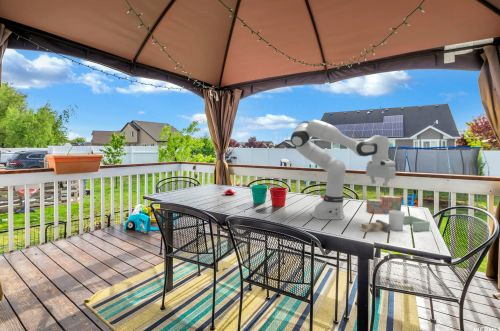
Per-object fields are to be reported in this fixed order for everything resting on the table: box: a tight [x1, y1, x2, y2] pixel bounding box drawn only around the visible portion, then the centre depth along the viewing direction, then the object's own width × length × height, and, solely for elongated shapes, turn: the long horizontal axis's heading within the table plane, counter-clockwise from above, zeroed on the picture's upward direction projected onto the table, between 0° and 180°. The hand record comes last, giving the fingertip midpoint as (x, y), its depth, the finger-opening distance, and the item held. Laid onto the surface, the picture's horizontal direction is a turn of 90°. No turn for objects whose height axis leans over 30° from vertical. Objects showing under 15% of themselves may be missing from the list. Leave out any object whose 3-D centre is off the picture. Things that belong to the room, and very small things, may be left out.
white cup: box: [388, 210, 406, 231], centre depth 143 cm, size 8×8×10 cm
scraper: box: [360, 219, 391, 234], centre depth 140 cm, size 14×9×4 cm, turn 102°
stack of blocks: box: [365, 195, 402, 215], centre depth 176 cm, size 21×6×12 cm, turn 83°
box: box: [403, 215, 431, 232], centre depth 145 cm, size 11×13×5 cm
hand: (379, 184), depth 147 cm, fingers open, 8 cm apart
